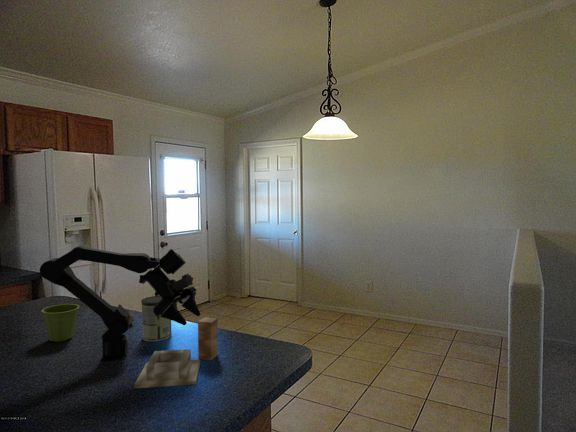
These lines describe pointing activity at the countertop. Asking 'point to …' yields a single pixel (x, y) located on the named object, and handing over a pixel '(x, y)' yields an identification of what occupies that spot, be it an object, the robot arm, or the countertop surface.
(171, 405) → the countertop surface
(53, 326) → the plant pot
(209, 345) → the wooden peg
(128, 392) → the countertop surface
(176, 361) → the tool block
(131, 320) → the drill bit
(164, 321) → the coffee can
